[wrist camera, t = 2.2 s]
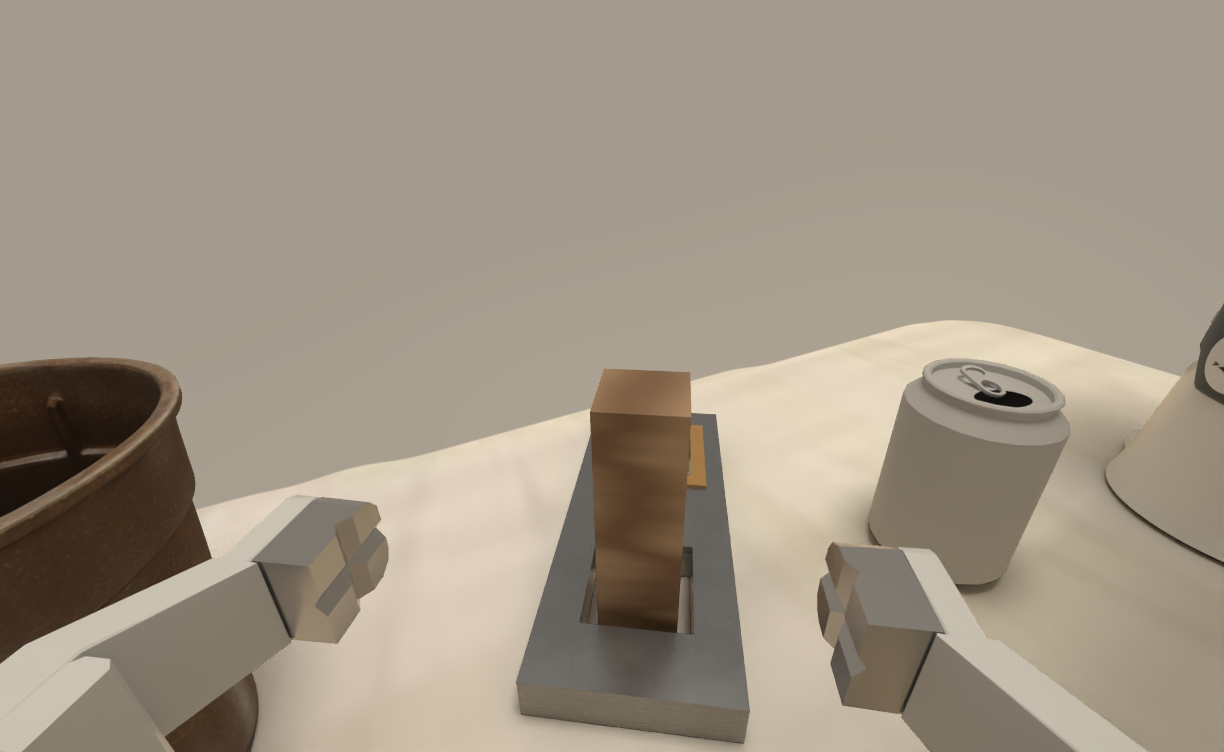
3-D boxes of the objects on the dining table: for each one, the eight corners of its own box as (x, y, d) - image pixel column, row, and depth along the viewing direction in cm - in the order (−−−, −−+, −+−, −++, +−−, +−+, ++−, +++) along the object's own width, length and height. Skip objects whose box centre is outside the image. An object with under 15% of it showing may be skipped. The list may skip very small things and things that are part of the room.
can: (914, 602, 28) (982, 420, 23) (843, 511, 35) (882, 354, 29) (1034, 588, 29) (1128, 408, 23) (942, 502, 35) (998, 347, 30)
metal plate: (713, 438, 43) (716, 412, 42) (743, 743, 22) (750, 707, 20) (599, 431, 44) (598, 406, 43) (521, 714, 23) (515, 679, 22)
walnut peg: (676, 586, 29) (690, 372, 23) (675, 650, 26) (691, 417, 19) (609, 580, 30) (604, 368, 23) (598, 641, 26) (590, 411, 20)
